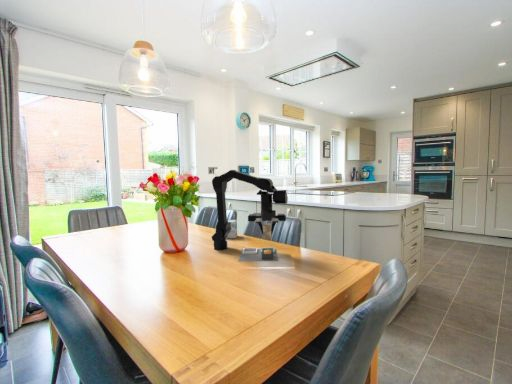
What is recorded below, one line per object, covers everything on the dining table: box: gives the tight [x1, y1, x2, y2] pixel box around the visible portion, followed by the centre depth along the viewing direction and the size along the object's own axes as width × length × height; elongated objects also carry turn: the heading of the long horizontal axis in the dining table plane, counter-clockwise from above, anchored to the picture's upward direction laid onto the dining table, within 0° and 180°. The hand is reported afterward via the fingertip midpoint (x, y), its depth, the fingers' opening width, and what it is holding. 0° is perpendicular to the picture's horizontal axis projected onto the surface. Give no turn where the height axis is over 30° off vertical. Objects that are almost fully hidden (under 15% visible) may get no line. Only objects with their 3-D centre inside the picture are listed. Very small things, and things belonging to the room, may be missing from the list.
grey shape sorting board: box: [238, 247, 278, 262], centre depth 128 cm, size 18×18×4 cm
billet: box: [262, 223, 272, 240], centre depth 132 cm, size 4×4×7 cm
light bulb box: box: [226, 219, 238, 239], centre depth 168 cm, size 11×7×11 cm, turn 84°
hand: (267, 234), depth 132 cm, fingers closed on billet, 4 cm apart
